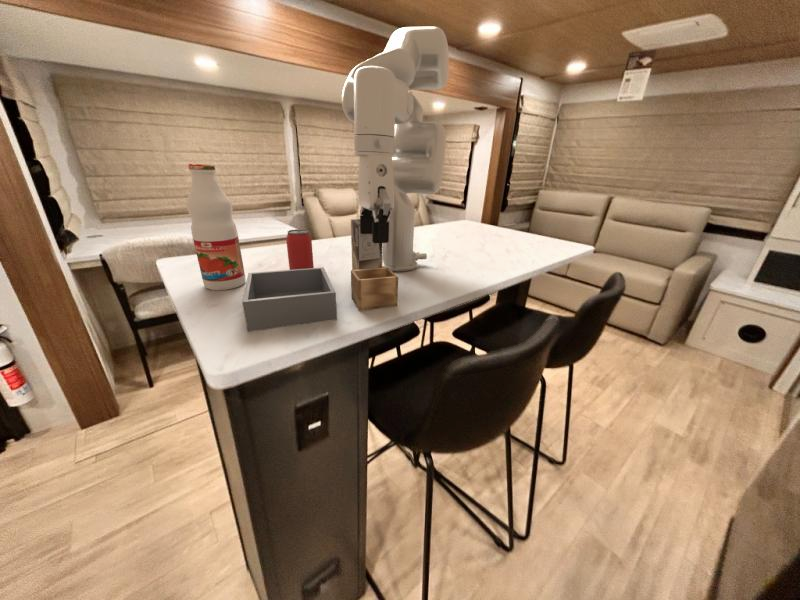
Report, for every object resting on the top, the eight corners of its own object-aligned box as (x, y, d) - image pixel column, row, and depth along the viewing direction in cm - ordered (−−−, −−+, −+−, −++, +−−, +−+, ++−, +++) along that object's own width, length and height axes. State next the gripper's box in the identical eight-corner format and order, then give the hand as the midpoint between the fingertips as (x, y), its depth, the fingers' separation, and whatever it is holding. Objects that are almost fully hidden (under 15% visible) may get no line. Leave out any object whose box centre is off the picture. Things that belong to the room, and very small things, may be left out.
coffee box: (382, 285, 82) (383, 224, 75) (359, 288, 79) (358, 225, 73) (372, 274, 89) (373, 218, 83) (351, 276, 87) (349, 218, 81)
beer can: (310, 277, 85) (306, 234, 80) (286, 276, 85) (281, 233, 80) (316, 270, 91) (313, 229, 86) (294, 269, 91) (290, 228, 86)
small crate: (387, 294, 76) (388, 267, 73) (397, 305, 70) (398, 276, 67) (351, 298, 73) (350, 270, 70) (358, 310, 67) (358, 280, 64)
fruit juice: (253, 279, 82) (234, 165, 71) (232, 292, 74) (207, 164, 62) (219, 276, 83) (195, 163, 72) (195, 289, 74) (163, 163, 63)
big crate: (325, 290, 77) (323, 267, 75) (337, 319, 63) (335, 292, 61) (252, 297, 72) (248, 272, 69) (247, 331, 57) (242, 301, 55)
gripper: (410, 146, 52) (405, 246, 59) (379, 151, 67) (378, 230, 74) (367, 143, 50) (367, 247, 56) (345, 149, 65) (347, 231, 71)
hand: (373, 237), depth 65 cm, fingers open, 9 cm apart
